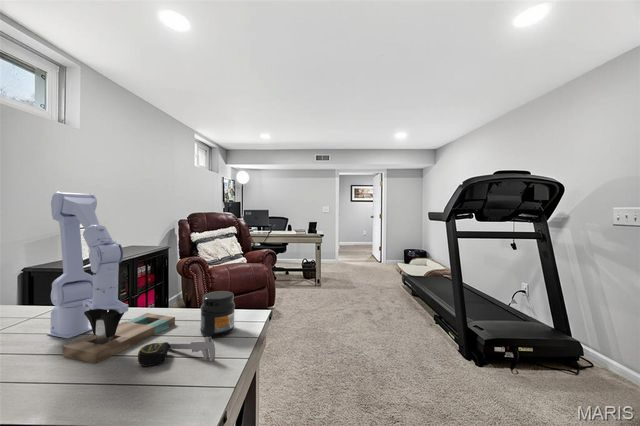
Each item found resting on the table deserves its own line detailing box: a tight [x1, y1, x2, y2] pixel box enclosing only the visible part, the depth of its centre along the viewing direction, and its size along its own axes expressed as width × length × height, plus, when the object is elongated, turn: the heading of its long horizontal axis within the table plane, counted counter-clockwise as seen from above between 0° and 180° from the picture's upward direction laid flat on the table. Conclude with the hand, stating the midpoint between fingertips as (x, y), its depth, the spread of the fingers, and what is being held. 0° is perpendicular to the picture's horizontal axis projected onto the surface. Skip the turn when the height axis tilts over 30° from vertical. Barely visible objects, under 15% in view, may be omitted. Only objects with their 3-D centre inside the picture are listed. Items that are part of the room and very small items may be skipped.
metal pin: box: [95, 317, 113, 345], centre depth 79 cm, size 4×4×8 cm
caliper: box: [160, 336, 216, 362], centre depth 77 cm, size 21×1×6 cm, turn 70°
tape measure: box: [137, 341, 171, 367], centre depth 73 cm, size 7×7×4 cm
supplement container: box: [200, 290, 236, 338], centre depth 92 cm, size 10×10×12 cm
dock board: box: [62, 312, 176, 364], centre depth 85 cm, size 12×26×2 cm, turn 164°
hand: (104, 334), depth 79 cm, fingers closed on metal pin, 4 cm apart
